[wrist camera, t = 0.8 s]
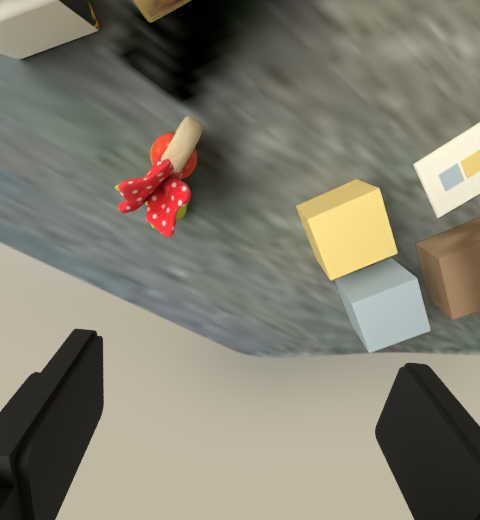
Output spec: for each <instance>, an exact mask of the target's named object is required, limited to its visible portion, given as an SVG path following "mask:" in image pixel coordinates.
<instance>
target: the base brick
mask: <svg viewBox="0 0 480 520" xmlns="http://www.w3.org/2000/svg"><path fill="white" fill-rule="evenodd" d="M415 247H416V251H417V255H418V259H419V263H420V267H421V271H422V275H423V279H424V283H425V286H426V290H427V294H428V298H429V300H430V301H431V302H432V303H433V304H434V305H435V306H437V307H438V308H439V309H440V310H441V311H442V312H444V313H445V314H446V315H447V316H448V317H449V318H451V319H452V320H455V319H457V318H460V317H463V316H466V315H468V314H471V313H474V312H476V311H479V310H480V218H477V219H475V220H473V221H470V222H468V223H465V224H463V225H460V226H458V227H455V228H453V229H450V230H448V231H445V232H443V233H440V234H438V235H435V236H433V237H430V238H428V239H425V240H423V241H420V242H418V243H415Z"/></svg>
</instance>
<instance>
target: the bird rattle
mask: <svg viewBox="0 0 480 520" xmlns="http://www.w3.org/2000/svg"><path fill="white" fill-rule="evenodd" d="M201 133H202V125H201V124H200V122H199V121H197V120H196V119H195V118H193V117H191V116H187V117H185V118H184V120H183V121H182V122H181V124H180V126H179V127H178V129H177V130H176V132H175V133H166V134H163V135H161V136H160V137H159V138H158V139H157V140H156V141H155V142H154V144H153V146H152V149H151V162H152V165H153V166H152V168H151V169H150V170H149V171H148V173H147V175H146V177H144V178H136V179H129V180H126V181H123V182H122V183H120V184H119V185H117V186H115V189H116V190H117V191H120V193H121V195H122V196H123V197H124V198H125V201H123V202H122V203H121V204H120V205H119V206H118V209H119V210H120V212H122V213H128V212H132V211H135V210H137V209H138V208H139V207H140V206H141V205H143V204H144V203H146V205H147V214H146V221H147V222H150V223H151V226H152V228H155V229H157V230H158V231H159V232H160V233H162V234H163V235H164V236H166V237H170V236H172V235H173V234H174V229H175V223H176V221H177V220H179V219H180V218H182V217H184V215H185V213H186V209H187V204H188V202H189V201H190V198H191V192H190V189H189V186H188V185H187V184H186V183H184V182H182V181H181V179H184V178H186V177H188V176H189V175H190V174H191V173H192V172H193V171H194V169H195V167H196V164H197V152H196V149H195V146H196V144H197V142H198V140H199V138H200V136H201Z"/></svg>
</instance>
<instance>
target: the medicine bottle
mask: <svg viewBox="0 0 480 520" xmlns="http://www.w3.org/2000/svg"><path fill="white" fill-rule="evenodd" d="M98 30H99V25H98V22H97V20H96V17H95V14H94V12H93V9H92V7H91V4H90V2H89V0H0V54H3V55H6V56H9V57H12V58H15V59H23V58H25V57H28V56H31V55H34V54H36V53H39V52H42V51H45V50H47V49H50V48H53V47H56V46H58V45H61V44H64V43H66V42H69V41H72V40H75V39H77V38H80V37H83V36H86V35H88V34H91V33H94V32H97V31H98Z"/></svg>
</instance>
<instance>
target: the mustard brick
mask: <svg viewBox="0 0 480 520" xmlns="http://www.w3.org/2000/svg"><path fill="white" fill-rule="evenodd" d="M296 208H297V210H298V213H299V215H300V218H301V221H302V223H303V226H304V228H305V231H306V233H307V236H308V239H309V241H310V244H311V246H312V249H313V251H314V254H315V257H316V259H317V261H318V262H319V264H320V265H321V267H322V268H323V270H324V271H325V273H326V274H327V276H328V277H329V279H330V280H333V279H336V278H338V277H341V276H343V275H346V274H348V273H351V272H353V271H356V270H358V269H361V268H363V267H365V266H368V265H370V264H373V263H375V262H378V261H380V260H383V259H385V258H388V257H390V256H393V255H395V254H398V252H397V249H396V245H395V242H394V238H393V235H392V231H391V227H390V224H389V220H388V217H387V213H386V210H385V206H384V203H383V199H382V196H381V192H380V188H378V187H375V186H373V185H370V184H368V183H365V182H363V181H360V180H358V179H356V180H354V181H352V182H349V183H347V184H345V185H342V186H340V187H338V188H336V189H333V190H331V191H329V192H327V193H324V194H322V195H320V196H318V197H315V198H313V199H311V200H308V201H306V202H304V203H302V204H299V205H297V206H296Z"/></svg>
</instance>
